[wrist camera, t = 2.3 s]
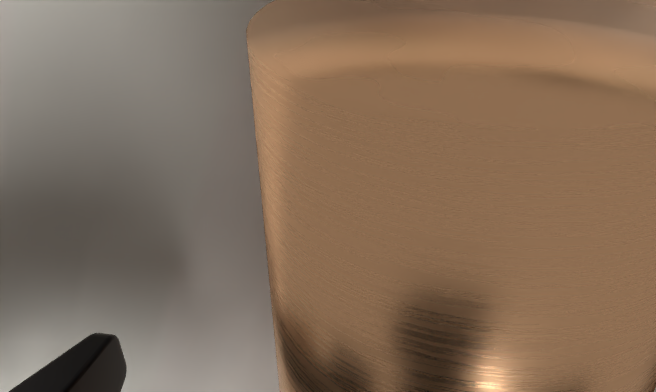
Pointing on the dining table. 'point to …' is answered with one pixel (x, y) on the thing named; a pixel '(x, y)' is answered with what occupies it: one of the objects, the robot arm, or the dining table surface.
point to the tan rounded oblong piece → (459, 193)
